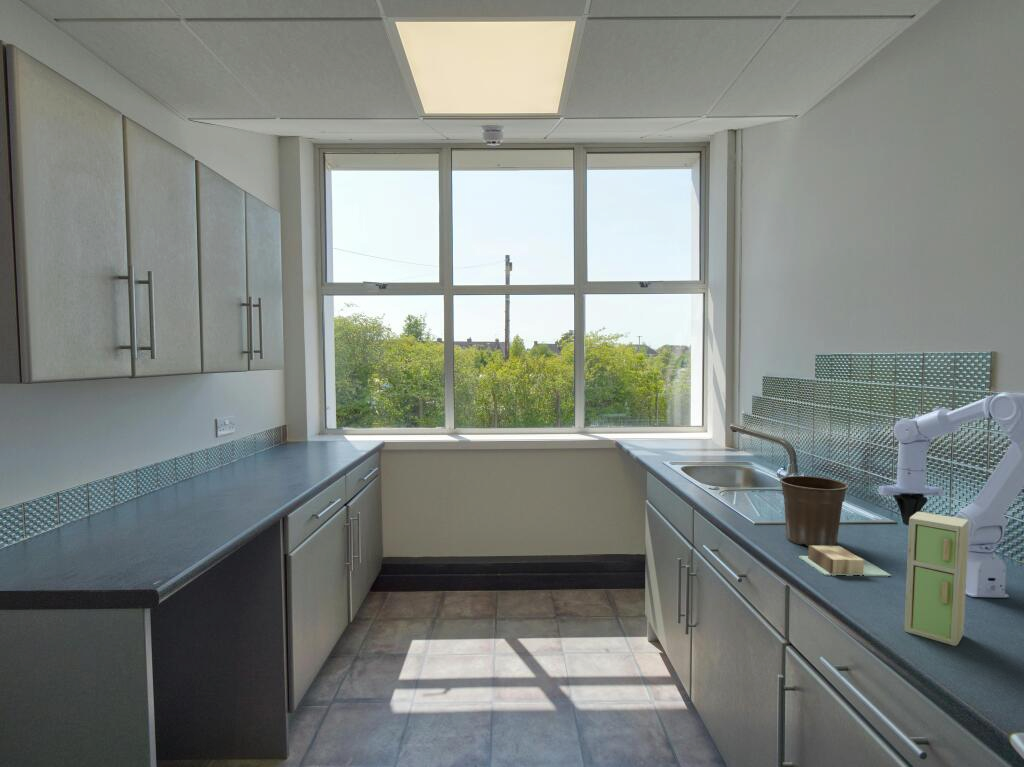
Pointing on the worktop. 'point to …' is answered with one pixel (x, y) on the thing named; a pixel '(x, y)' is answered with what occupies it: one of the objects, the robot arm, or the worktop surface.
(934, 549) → the toy refrigerator
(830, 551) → the oak slab
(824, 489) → the plant pot
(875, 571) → the rubber mat
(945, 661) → the worktop surface
